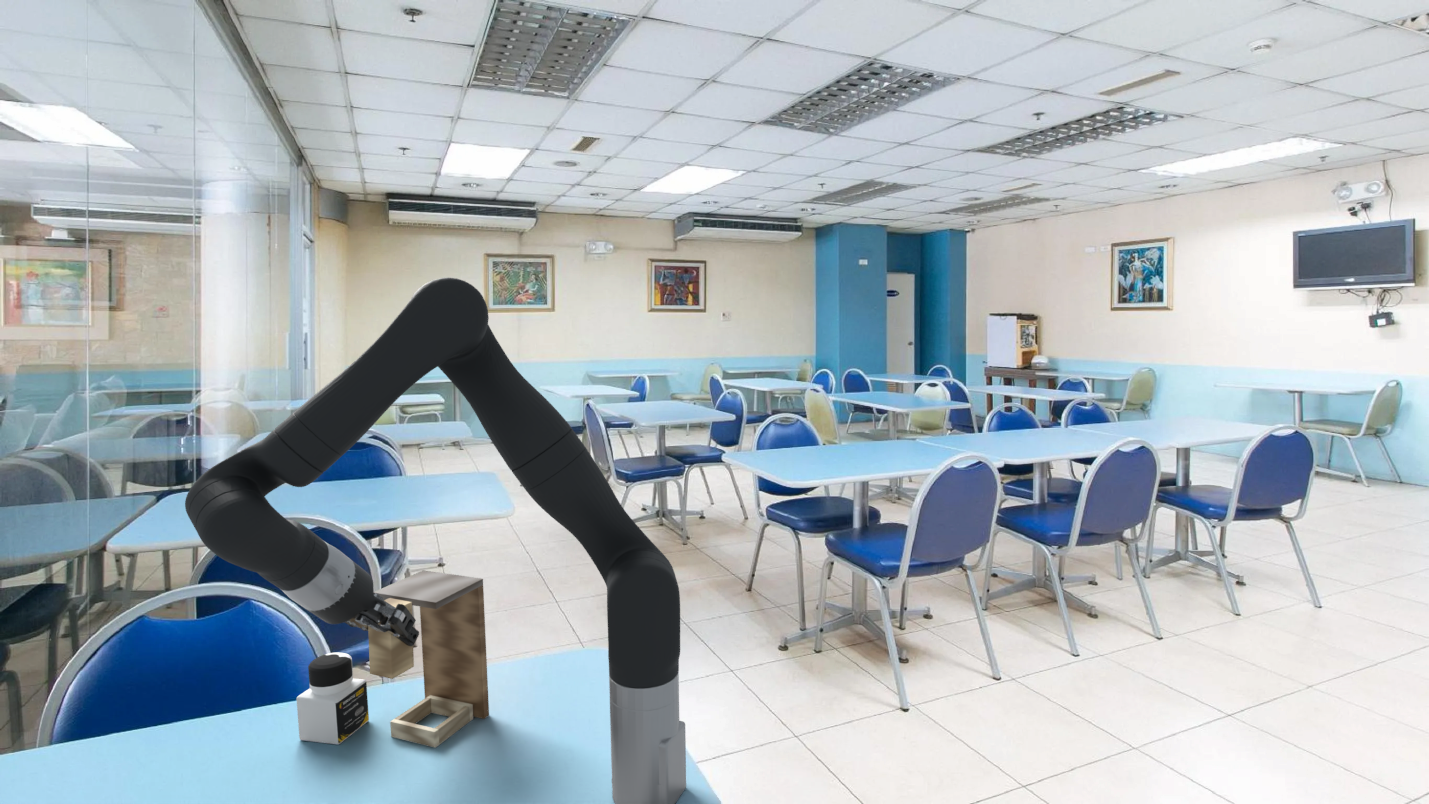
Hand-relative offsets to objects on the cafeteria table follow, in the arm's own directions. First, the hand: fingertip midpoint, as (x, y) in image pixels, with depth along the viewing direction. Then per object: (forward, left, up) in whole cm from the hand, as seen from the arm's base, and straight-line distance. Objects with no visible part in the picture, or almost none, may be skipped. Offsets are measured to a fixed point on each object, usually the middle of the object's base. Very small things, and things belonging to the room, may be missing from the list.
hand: (401, 636), depth 105 cm
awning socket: (+4, -9, -19) cm, 21 cm away
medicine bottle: (+18, -3, -20) cm, 26 cm away
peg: (0, +2, -4) cm, 5 cm away
